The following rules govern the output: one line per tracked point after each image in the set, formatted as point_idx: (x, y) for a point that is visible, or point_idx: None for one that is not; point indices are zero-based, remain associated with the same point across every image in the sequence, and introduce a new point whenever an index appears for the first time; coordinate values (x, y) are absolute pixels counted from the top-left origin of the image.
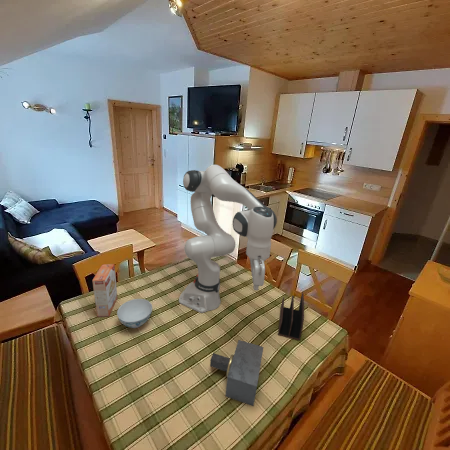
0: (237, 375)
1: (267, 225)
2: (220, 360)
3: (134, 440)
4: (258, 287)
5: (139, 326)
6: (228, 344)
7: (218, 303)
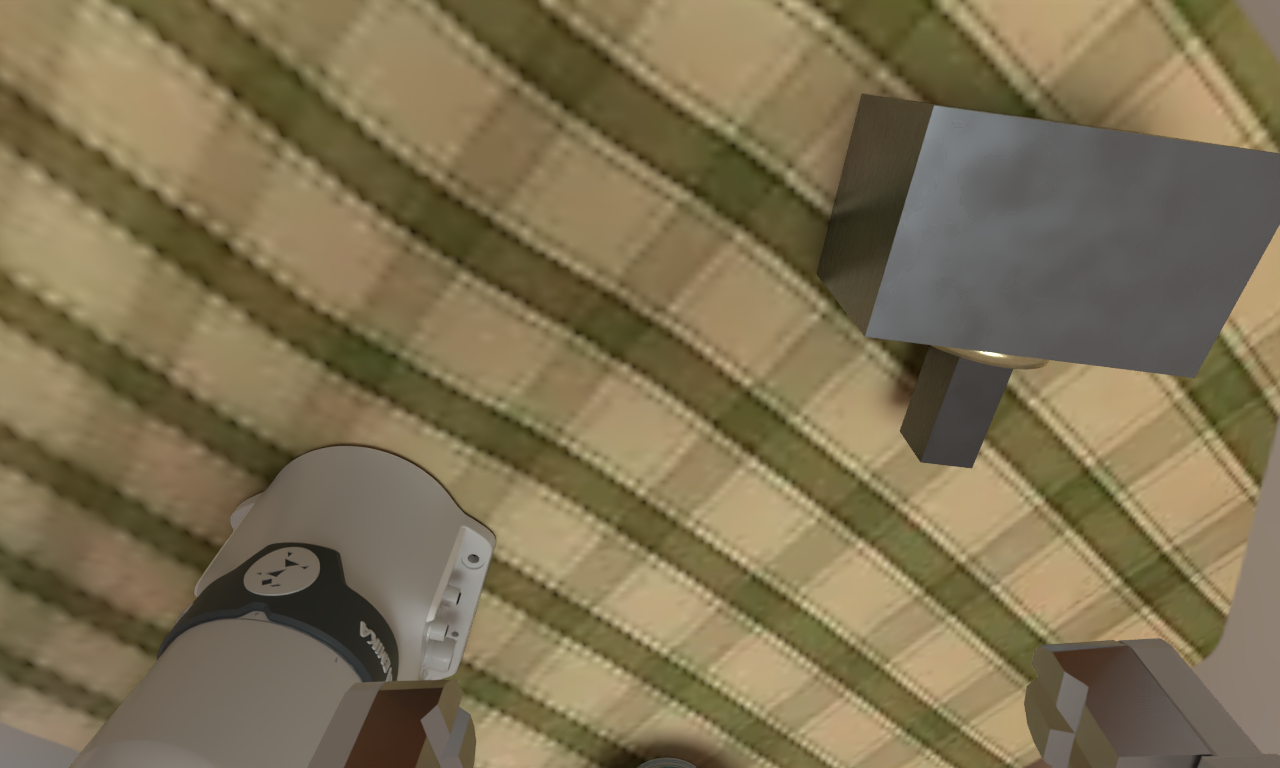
0: (1196, 313)
1: None
2: (979, 411)
3: (1214, 607)
4: (1228, 717)
5: (689, 763)
6: (716, 336)
7: (372, 467)
